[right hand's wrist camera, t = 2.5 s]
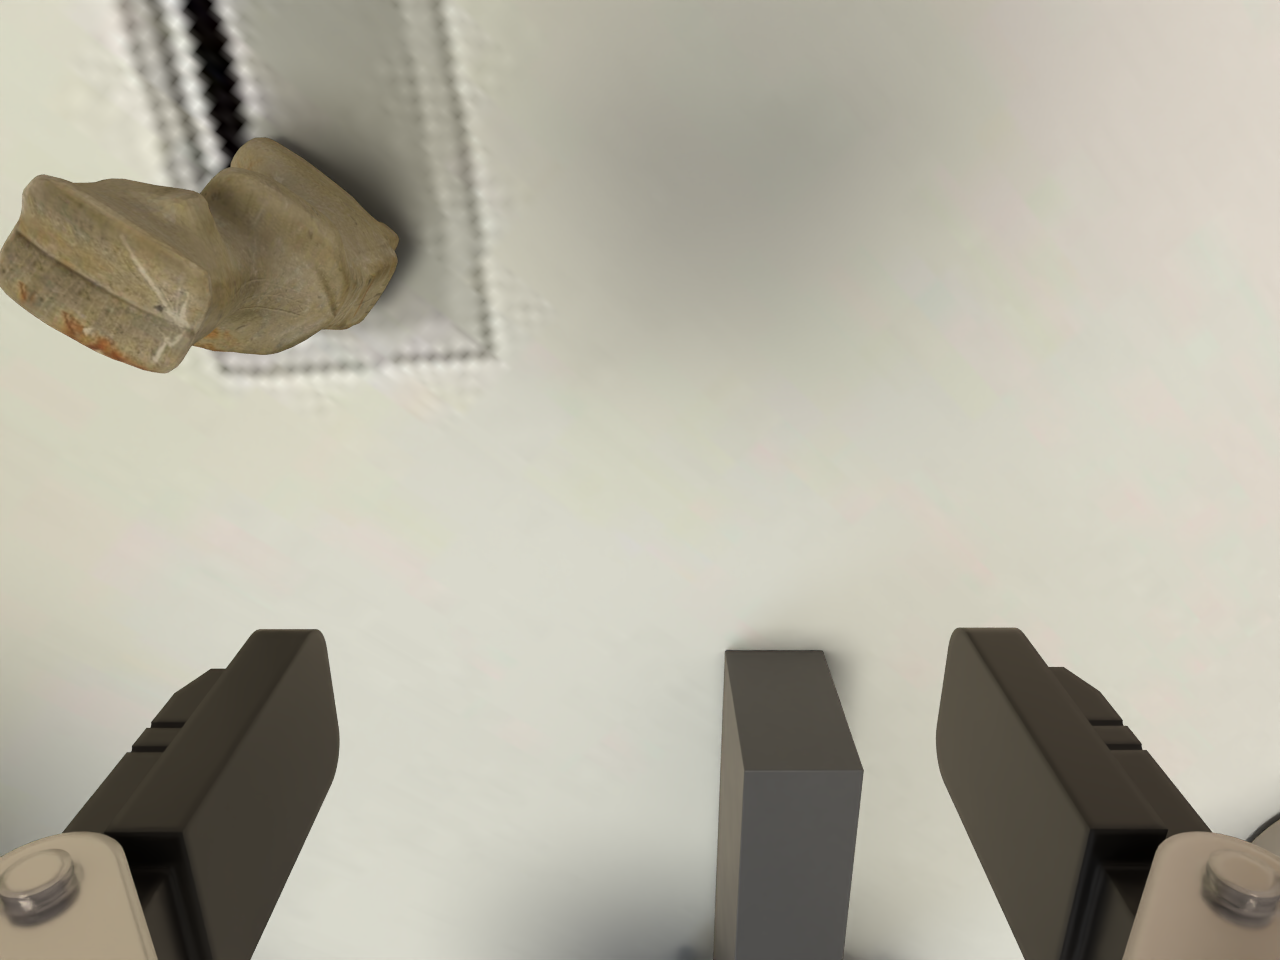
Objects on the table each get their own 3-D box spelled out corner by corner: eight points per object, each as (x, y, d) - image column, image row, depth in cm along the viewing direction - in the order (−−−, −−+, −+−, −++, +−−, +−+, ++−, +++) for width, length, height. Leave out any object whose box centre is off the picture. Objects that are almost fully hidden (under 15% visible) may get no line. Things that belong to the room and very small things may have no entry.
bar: (724, 650, 44) (744, 770, 36) (823, 650, 44) (864, 770, 36) (711, 1012, 53) (723, 1172, 45) (792, 1012, 53) (819, 1172, 45)
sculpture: (279, 106, 35) (37, 100, 21) (437, 228, 36) (310, 298, 22) (205, 229, 36) (-65, 300, 22) (358, 341, 38) (196, 470, 24)
